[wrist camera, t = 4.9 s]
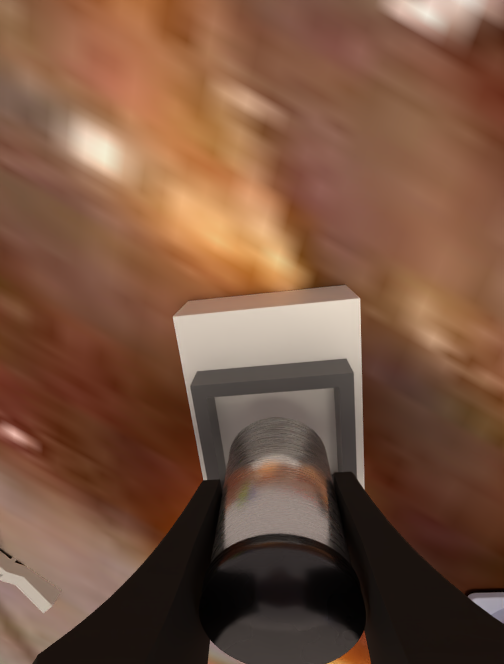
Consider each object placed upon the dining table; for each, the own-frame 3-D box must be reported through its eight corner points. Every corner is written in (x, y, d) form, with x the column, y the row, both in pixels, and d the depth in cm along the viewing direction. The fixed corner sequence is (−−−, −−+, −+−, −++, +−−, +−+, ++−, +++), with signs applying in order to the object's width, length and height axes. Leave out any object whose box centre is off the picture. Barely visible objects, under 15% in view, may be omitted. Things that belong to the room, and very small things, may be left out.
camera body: (352, 483, 21) (373, 550, 17) (220, 490, 22) (208, 556, 18) (345, 284, 18) (369, 307, 14) (187, 301, 18) (162, 326, 14)
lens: (334, 494, 15) (371, 666, 9) (237, 504, 16) (217, 674, 10) (323, 408, 14) (359, 548, 8) (217, 421, 14) (181, 563, 9)
